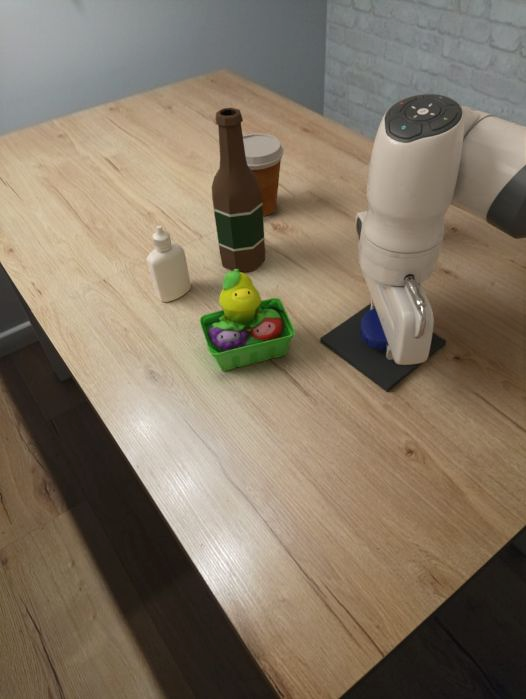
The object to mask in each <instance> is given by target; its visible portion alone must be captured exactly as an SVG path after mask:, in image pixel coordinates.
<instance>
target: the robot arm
mask: <svg viewBox="0 0 526 699" xmlns="http://www.w3.org/2000/svg"><path fill="white" fill-rule="evenodd" d="M365 191H366V192H365V195H366V201H367V206H368V207H367V210H363V211H359V212H356V214H355V215H356V216H355V229H356V232H357V236H358V237H357V243H358V244H357V258H358V264H359V267H360V270H361V273H362V275H363V278H364V281H365V284H366V286H367V289H368V291H369V295H370V296H369V297H370V303H371V310H372V309H376V311H377V314H378V317H379V320H380V322H381V325H382V328H383V331H384V333H385V336H386V339H387V342H388V343H385V349H384V351H385V354H386V357H387V359H388V360H393V359H394V361H395V363H396V364H398V365H410V364H418V363H422V362H424V363H425V362H426V361H427V360H428V359H427V358H428V356H429V351H430V346H431V340H432V334H433V333H434V323H435V322H434V321H435V320H434V319H435V318H434V311H433V308H432V305H431V303H430V301H429V299H428V297H427V294H426V292H425V290H424V287H423V286H422V284H421V283H423V282H425V281H427V280H429V279H430V278H431V277H432V276H433V275H434V273H435V271H436V268H437V265H438V261H439V256H440V252H441V248H442V244H443V240H444V236H445V230H446V229H445V216H446V213H447V211H448V209H449V208H450V206H453V207H455V208H457V209H460V210H462V211H463V212H466V213H468V214H471V215H473V216H475V217H477V218H479V219H482V220H484V221H486V223H487V224H489V225H491V226H492V227H494V228H496V229H497V230H499V231H501V232H503V233H504V234H506V235H507V236H510V237H511V238H513V239H515V240H519V239H526V126H525V125H522V124H519V123H516V122H512V121H510V120H506V119H503V118H501V117H497V116H496V115H495V114H492V113H488V112H486V111H482V110H479V109H475V108H473V107H469V106H465V105H460V104H459V102H457V101H456V100H455V99H452V98H451V97H449V96H445V95H443V94H436V93H435V94H434V93H423V94H415V95H412V96H409V97H405V98H403V99H401V100H399V101H397V102H395V103H394V104H392V105H391V106H390V107H389V108H388V109H387V110H386V112H385V113H384V114H383V116H382V118H381V121H380V123H379V125H378V128H377V132H376V134H375V138H374V141H373V145H372V149H371V155H370V160H369V167H368V172H367V181H366V190H365ZM422 364H423V363H422Z"/></svg>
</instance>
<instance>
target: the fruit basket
mask: <svg viewBox="0 0 526 699" xmlns="http://www.w3.org/2000/svg"><path fill="white" fill-rule="evenodd" d="M218 303H219V306H220V307H221V310H218V311H213V312H209V313H205V314H203V315H201V316H200V317H199V324H200V326H201V329H202V333H203V336H204V340H205V343H206V346H207V350H208V352H209V354H210V355H211V356H212V357H213V358H214V360H215V361H216V363H217V365H218V367H219V369H220V371H222V372H226V371H230V370H234V369H235V368H242V367H247V366H250V365H252V364H254V363H261V362H266V361H269V360H271V359H276V358H281V357H284V356H286V354H287V352H288V350H289V347H290V344H291V341H292V339H293V338H294V336H295V334H296V329H295V327H294V325H293V323H292V320H291V318H290V316H289V314H288V312H287V311H286V308H285V305H284V304H283V301H282V300H281V299H280V298H278V297H271V298H268V299H263V300H262V297H261V294H260V293H259V290H258V289H257V288H256V287H255V285H254V284H253V281H252V279H251V277H250V276H249V275H248V274H246V273H245V272H239V269H234V272H233V271H228V272H227V273H225V275H224V277H223V282H222V290H221V291H220V294H219V299H218Z"/></svg>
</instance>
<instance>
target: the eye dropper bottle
mask: <svg viewBox="0 0 526 699" xmlns="http://www.w3.org/2000/svg"><path fill="white" fill-rule="evenodd" d="M151 238H152V242H153V246H154V248H153V249H152V250H151V252H150V253H149V254H148V255H147V257H146V265H147V269H148V273H149V275H150V280H151V284H152V288H153V291H154V295H155V297H156V298H157V299H158V300H159V301H160V302H162V303H169V302H172V301H175V300H177V299H179V298H181V297H183V296H185V294H187V293H188V292H189V291H190V289H191V288H192V283H191V277H190V272H189V267H188V262H187V257H186V252H185V249H184V247H182V245H180V244H178V243H177V242H172V239H171V236H170V232H168V231H166V230H164V229H163V227H162V226H161V225H156V227H155V232H154V233H153V234H152V236H151Z"/></svg>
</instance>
